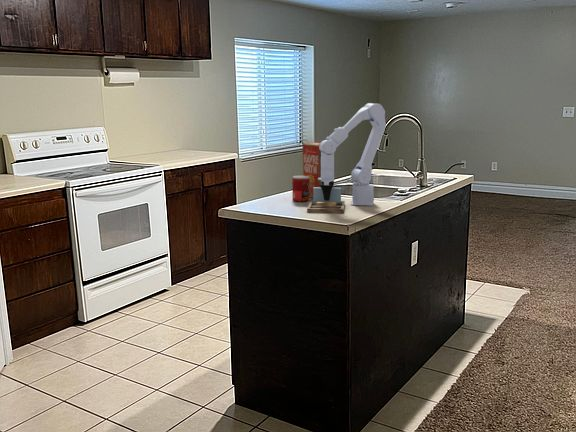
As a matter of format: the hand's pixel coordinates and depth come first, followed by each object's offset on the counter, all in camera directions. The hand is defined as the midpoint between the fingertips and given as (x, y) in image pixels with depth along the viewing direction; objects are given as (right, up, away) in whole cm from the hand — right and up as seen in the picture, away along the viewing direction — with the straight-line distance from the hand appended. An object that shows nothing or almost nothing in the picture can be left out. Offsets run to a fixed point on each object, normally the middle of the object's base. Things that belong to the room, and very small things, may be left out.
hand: (327, 199), depth 249 cm
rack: (-1, -4, -5) cm, 7 cm away
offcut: (-1, -5, -6) cm, 7 cm away
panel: (0, -3, +1) cm, 3 cm away
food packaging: (-3, +2, +24) cm, 24 cm away
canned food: (-11, 0, +13) cm, 17 cm away
